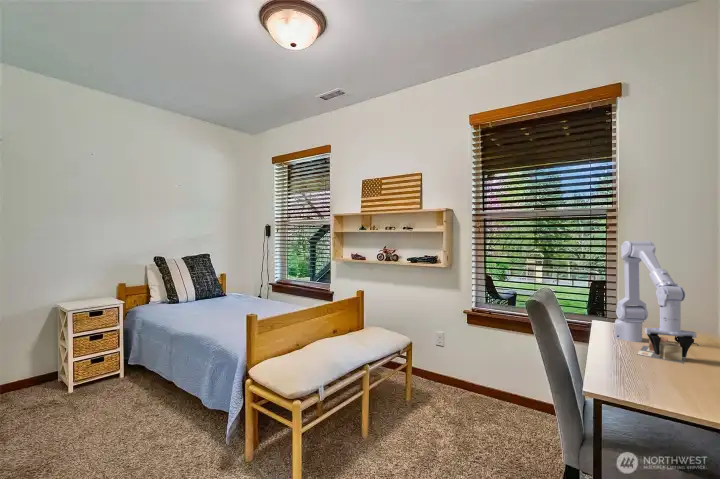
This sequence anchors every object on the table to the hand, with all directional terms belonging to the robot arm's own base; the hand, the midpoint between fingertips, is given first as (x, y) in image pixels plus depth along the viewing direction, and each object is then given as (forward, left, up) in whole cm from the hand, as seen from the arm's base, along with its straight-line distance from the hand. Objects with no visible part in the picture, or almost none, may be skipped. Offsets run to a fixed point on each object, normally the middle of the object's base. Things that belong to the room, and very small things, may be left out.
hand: (669, 355), depth 127 cm
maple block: (0, 0, -1) cm, 1 cm away
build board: (-3, +4, -2) cm, 5 cm away
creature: (+3, +29, -2) cm, 29 cm away
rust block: (-4, +8, -1) cm, 9 cm away
